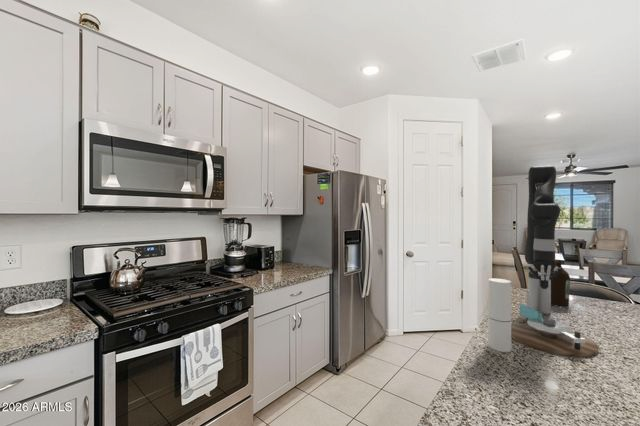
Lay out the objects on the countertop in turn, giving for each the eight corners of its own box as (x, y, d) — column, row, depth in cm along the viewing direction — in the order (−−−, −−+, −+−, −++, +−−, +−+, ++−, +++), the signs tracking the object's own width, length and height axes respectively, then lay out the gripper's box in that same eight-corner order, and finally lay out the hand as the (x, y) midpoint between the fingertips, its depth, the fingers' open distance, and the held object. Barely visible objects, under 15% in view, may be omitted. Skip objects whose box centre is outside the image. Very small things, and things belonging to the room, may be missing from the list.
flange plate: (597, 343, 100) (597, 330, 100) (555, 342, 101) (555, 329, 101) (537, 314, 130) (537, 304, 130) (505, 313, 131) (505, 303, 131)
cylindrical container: (508, 344, 109) (507, 279, 109) (513, 353, 102) (513, 283, 102) (486, 341, 111) (486, 277, 111) (491, 350, 104) (491, 281, 105)
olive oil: (544, 304, 160) (544, 259, 161) (547, 300, 168) (547, 258, 168) (569, 308, 153) (569, 262, 153) (571, 304, 160) (571, 260, 160)
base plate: (575, 364, 95) (575, 341, 95) (492, 332, 120) (492, 315, 120) (612, 347, 107) (612, 327, 107) (530, 322, 132) (530, 306, 132)
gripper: (529, 249, 124) (529, 289, 124) (566, 251, 119) (566, 292, 119) (523, 247, 131) (523, 285, 131) (558, 248, 126) (558, 287, 126)
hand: (543, 288), depth 125 cm, fingers closed
